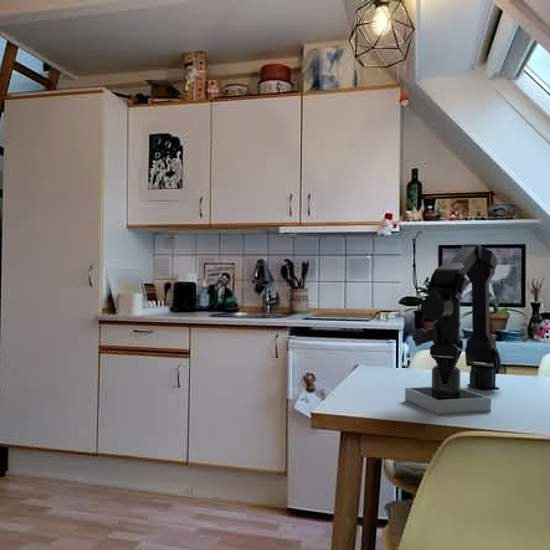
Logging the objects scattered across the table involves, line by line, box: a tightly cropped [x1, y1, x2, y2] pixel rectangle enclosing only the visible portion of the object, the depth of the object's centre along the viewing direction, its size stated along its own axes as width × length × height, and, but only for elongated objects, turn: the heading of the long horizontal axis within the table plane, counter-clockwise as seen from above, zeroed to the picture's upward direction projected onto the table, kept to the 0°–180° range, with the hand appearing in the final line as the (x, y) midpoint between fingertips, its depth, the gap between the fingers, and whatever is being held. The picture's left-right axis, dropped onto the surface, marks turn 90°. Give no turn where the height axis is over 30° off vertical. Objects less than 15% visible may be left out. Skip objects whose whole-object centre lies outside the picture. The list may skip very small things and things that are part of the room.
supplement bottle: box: [431, 361, 461, 400], centre depth 130 cm, size 7×7×12 cm
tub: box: [404, 386, 492, 416], centre depth 130 cm, size 15×15×4 cm
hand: (446, 380), depth 130 cm, fingers open, 9 cm apart
